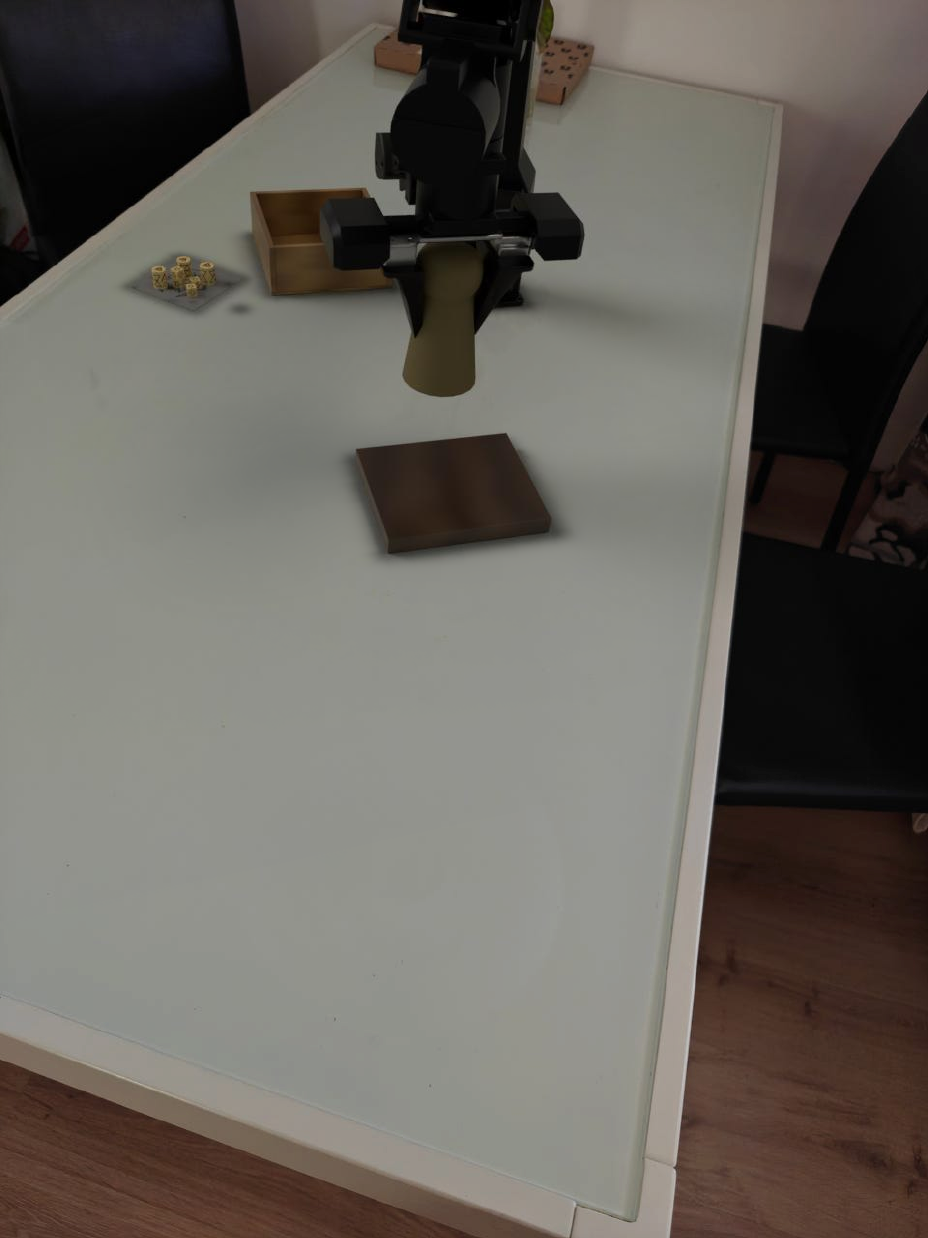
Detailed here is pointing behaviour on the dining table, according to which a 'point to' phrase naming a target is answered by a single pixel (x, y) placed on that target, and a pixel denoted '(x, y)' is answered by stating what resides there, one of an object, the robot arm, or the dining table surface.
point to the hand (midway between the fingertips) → (443, 334)
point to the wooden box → (302, 243)
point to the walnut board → (450, 492)
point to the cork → (445, 321)
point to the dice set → (186, 283)
